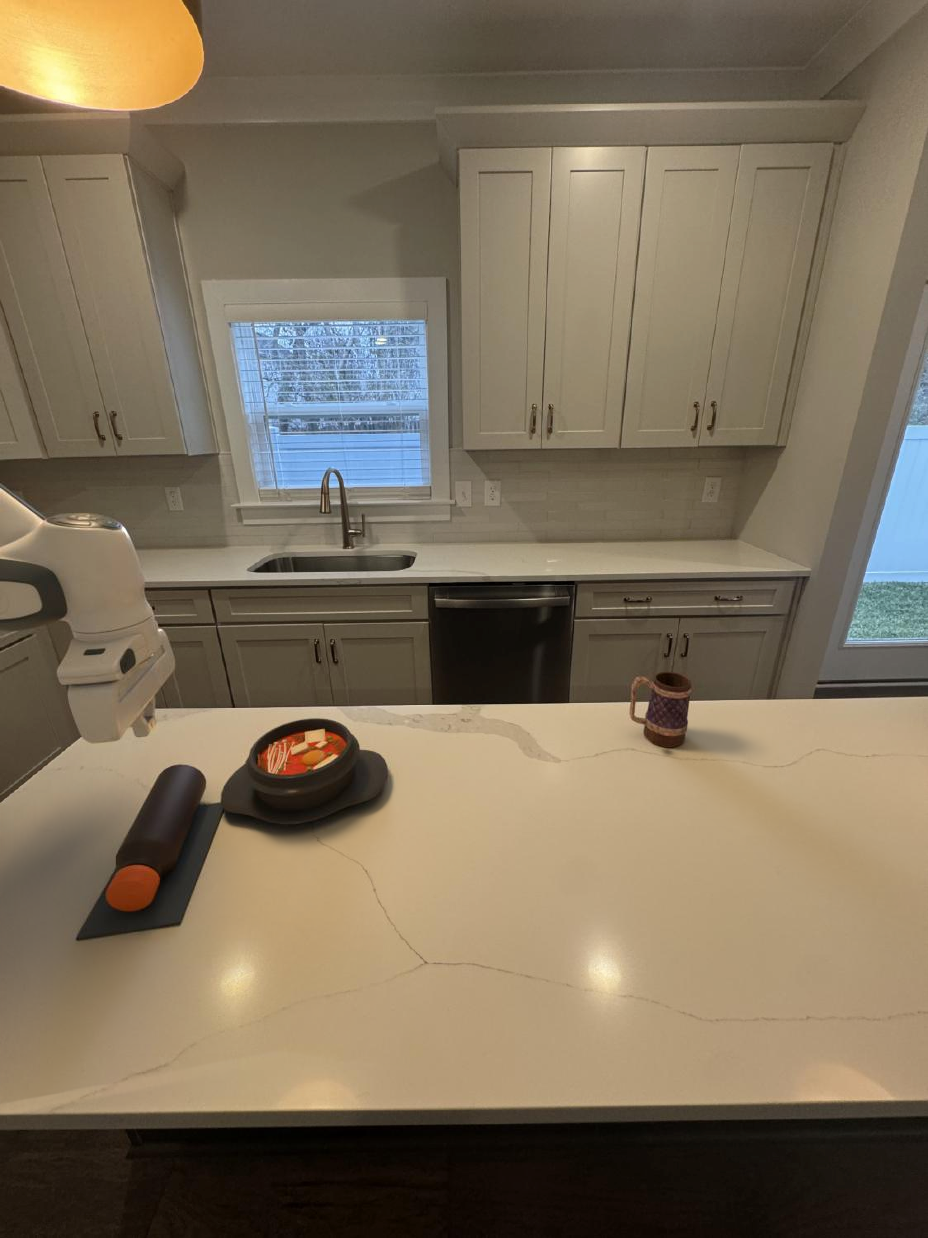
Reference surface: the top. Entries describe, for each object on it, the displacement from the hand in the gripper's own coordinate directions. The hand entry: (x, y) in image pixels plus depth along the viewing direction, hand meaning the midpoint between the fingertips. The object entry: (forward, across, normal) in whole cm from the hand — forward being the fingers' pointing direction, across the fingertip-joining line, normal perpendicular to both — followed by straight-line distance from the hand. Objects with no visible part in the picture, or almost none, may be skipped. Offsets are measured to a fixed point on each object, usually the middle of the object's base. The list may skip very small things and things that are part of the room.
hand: (146, 731), depth 71 cm
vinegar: (+10, -2, +2) cm, 11 cm away
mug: (+14, -4, +80) cm, 81 cm away
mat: (+14, +10, +2) cm, 17 cm away
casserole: (+14, -1, +20) cm, 25 cm away
